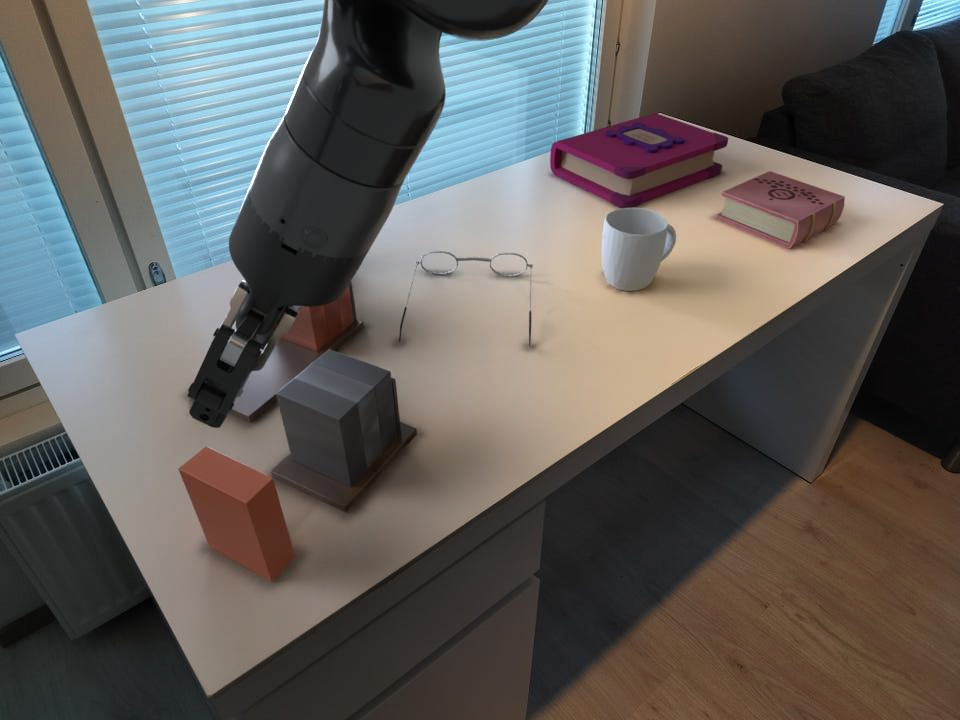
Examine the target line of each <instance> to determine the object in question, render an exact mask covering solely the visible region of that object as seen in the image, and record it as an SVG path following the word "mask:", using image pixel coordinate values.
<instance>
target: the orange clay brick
mask: <svg viewBox="0 0 960 720" xmlns="http://www.w3.org/2000/svg"><path fill="white" fill-rule="evenodd" d="M178 472H179V474H180V478H181V479H182V482H183V484H184V487H185V489H186V492H187V495H188V497H189V499H190V502H191V504H192V507H193V509H194V512H195V514H196V517H197V519H198V522H199V524H200V527H201V530H202V532H203V535H204V537H205V539H206V542H207V544H208V547H209V549H212V550H213V551H215V552H216V553H219V554H221V555H222V556H224V557H225V558H228V559H230V560H231V561H233V562H235V563H237V564H238V565H240V566H242V567H244V568H246V569H247V570H249V571H251V572H253V573H255V574H257V575H258V576H260V577H262V578H264V579H265V580H267V581H269V582H271V583H273V582H274V581H275V580H276V579H277V577H279V576H280V575H281V573H282V572H283V571H284V570H285V569H286V568H287V567H288V566H289V565H290V563H292V561H293V560H294V559H295V558H296V555H295V551H294V547H293V545H292V540H291V536H290V533H289V529H288V526H287V522H286V520H285V519H286V518H285V516H284V512H283V509H282V505H281V500H280V498H279V494H278V490H277V486H276V483H275V481H274V480H275V478H273V477H272V476H270V475H267V474H266V473H263V472H261V471H259V470H257V469H256V468H253V467H251V466H250V465H247V464H244V463H243V462H240V461H238V460H237V459H234V458H232V457H230V456H228V455H226V454H224V453H222V452H220V451H218V450H215V449H214V448H211V447H209V446H207V445H206V446H204V447H203V448H202V449H200V450H199V451H198V452H197V453H195V454H194V455H193V456H192V457H191V458H189V459H188V460H187V461H186V462H185V463H183V464H182V465H181V466H180V467H178Z"/></svg>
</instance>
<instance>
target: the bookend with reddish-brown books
mask: <svg viewBox="0 0 960 720" xmlns="http://www.w3.org/2000/svg"><path fill="white" fill-rule="evenodd" d="M352 282H353V281H351V282H350V284H349V286H348V287H347V289H346V291H345V292H344V293H343V295H342V296H341V297H340V298H338V299H337V300H335V301H334V302H332V303H329V304H326V305H322V306H316V307H303V308H301V307H300V309H299V311H300V313H299V314H298V316H297V318H296V320H295V322H294V323H293V325H292V327H291V329H290V330H289V331H288V332H287V333H286V334H283V335H282V336H281V338H280V340H279V342H278V343H277V345H276V347H275V349H274V350H273V352H272V354H271V356H270V357H269V359H268V361H267V363H266V364H265V366H264V367H263V368H262V369H261V370H259V371H252V373H251V374H250V376H249V378H248V380H247V381H246V383H245V385H244V387H243V388H242V390H244V391H243V393H242V395H241V396H240V397H237V399H236V400H235V401H234V406H233V408H232V410H231V411H229V413H228V414H230V415H232V416H234V417H237V418H239V419H241V420H243V421H246V422H248V423H252V422H253V421H254V420H255V419H257V418H258V417H260V416H261V414H262V413H264V412H265V411H267V410H268V409H269V408H270V407H271V406H272V405H273V404H274V403H276V402H278V401H277V397H276V393H277V392H278V391H279V390H281V389H282V388H283V387H284V386H285V385H287V384H288V383H289V382H290V381H291V380H293V379H294V378H295V377H296V376H298V375H299V374H300V373H301V372H302V371H304V370H305V369H306V368H307V367H308V366H310V365H311V364H312V363H313V362H314V361H316V360H317V359H318V358H319V357H320V356H322V355H323V354H324V353H325V352H326V351H328V350H329V349H331V350H334V351H336V352H338V350H339V349H340V348H342V347H343V346H344V345H345V344H346V343H347V342H349V341H350V340H351V339H352V338H354V336H356V335H357V334H358V333H360V332H361V331H362V330H363V329H364V328H365V324H364V321H362V320H361V319H358V317H357V311H356V309H357V308H356V304H355V303H356V302H355V295H354V290H353V283H352ZM260 351H262V352H263V350H262V349H261V350H260ZM187 391H188V393H189V390H188V389H187Z"/></svg>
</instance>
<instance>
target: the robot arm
mask: <svg viewBox="0 0 960 720" xmlns="http://www.w3.org/2000/svg"><path fill="white" fill-rule="evenodd" d="M548 2H549V0H324V3H323V11H322V18H321V22H320V26H319V32H318V34H317V38H316V41H315V44H314V46H313V48H312V50H311V52H310V54H309V56H308V58H307V60H306V62H305V64H304V67H303V69H302V71H301V74H300V75H299V78H298V81H297V84H296V85H295V88H294V91H293V94H292V96H291V98H290V101H289V103H288V105H287V108H286V111H285V113H284V115H283V117H282V119H281V121H280V123H279V124H278V126H277V127H276V129H275V131H274V132H273V134H272V135H271V137H270V139H269V140H268V142H267V145H266V146H265V148H264V151H263V153H262V155H261V157H260V160H259V162H258V165H257V167H256V170H255V172H254V175H253V177H252V180H251V181H250V185H249V187H248V189H247V192H246V195H245V197H244V200H243V202H242V204H241V207H240V209H239V211H238V214H237V217H236V219H235V221H234V224H233V227H232V229H231V231H230V234H229V237H228V250H229V251H228V252H229V256H230V258H231V260H232V263H233V264H234V266H235V268H236V269H237V271H238V272H239V273H240V275H241V276H242V278H243V280H241V282H239V284H238V285H237V287H236V288H235V290H234V292H233V294H232V296H231V297H230V299H229V307H230V308H229V309H228V312H227V314H226V315H225V317H224V318H223V320H222V322H221V324H220V326H219V327H217V328H216V329H215V330H214V332H213V334H212V336H213V338H212V339H211V342H210V345H209V348H208V350H207V352H206V354H205V356H204V359H203V360H202V363H201V365H200V367H199V369H198V371H197V374H196V377H195V378H194V381H193V382H191V384H189V385H190V386H189V387H188V389H187V391H188V390H189V392H188V393H187V398H190V399H192V400H193V402H192V404H191V406H190V409H189V415H190V417H191V418H192V419H193V420H196V421H198V422H200V423H201V424H204V425H206V426H208V427H210V428H214V429H219V428H220V427H221V426H222V425H223V423H224V422H225V420H226V419H227V417H228V415H229V414H230V413H229V411H231V410H232V408H233V406H234V401H235V400H236V399H237V397H240V396H241V395H242V393H243V391H244V390H242V388H243V387H244V385H245V383H246V381H247V380H248V378H249V376H250V374H251V373H252V371H259V370H261V369H262V368H263V367H264V366H265V364H266V363H267V361H268V359H269V357H270V356H271V354H272V352H273V350H274V349H275V347H276V345H277V343H278V342H279V340H280V338H281V336H282V335H283V334H286V333H287V332H288V331H289V330H290V329H291V327H292V325H293V323H294V322H295V320H296V318H297V316H298V314H299V313H300V311H299V309H300V307H301V308H303V307H316V306H322V305H326V304H329V303H332V302H334V301H335V300H337V299H338V298H340V297H341V296H342V295H343V293H344V292H345V291H346V289H347V287H348V286H349V284H350V282H351V281H352V280H353V279H354V277H355V275H356V274H357V272H358V271H359V268H360V267H361V265H362V263H363V262H364V260H365V258H366V257H367V255H368V253H369V251H370V250H371V248H372V246H373V244H374V243H375V241H376V239H377V238H378V236H379V234H380V233H381V230H382V229H383V227H384V225H385V224H386V222H387V220H388V219H389V216H390V214H391V213H392V210H394V206H395V204H396V202H397V199H398V196H399V193H400V191H401V188H402V186H403V184H404V182H405V180H406V178H407V177H408V175H409V173H410V172H411V169H412V168H413V166H414V165H415V163H416V161H417V159H418V158H419V156H420V154H421V152H422V150H423V149H424V147H425V145H426V144H427V142H428V141H429V139H430V137H431V135H432V133H433V131H434V130H435V128H436V126H437V124H438V122H439V120H440V118H441V116H442V113H443V110H444V107H445V103H446V97H447V96H446V95H447V93H446V91H447V90H446V83H445V77H444V74H443V69H442V63H441V56H440V46H441V38H442V35H443V34H445V35H447V36H449V37H452V38H455V39H459V40H460V39H461V40H465V41H472V42H473V41H474V42H485V41H493V40H498V39H501V38H505V37H508V36H510V35H512V34H515V33H517V32H518V31H520V30H521V29H523V28H524V27H526V26H527V25H528V24H530V23H531V22H532V21H533V20H534V19H536V17H537V16H539V14H540V13H541V11H543V9H544V8H545V7H546V5H547V4H548ZM352 282H353V281H352ZM234 324H235V329H234V328H233V326H234ZM261 349H262V350H263V352H262V351H260V350H261Z"/></svg>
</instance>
